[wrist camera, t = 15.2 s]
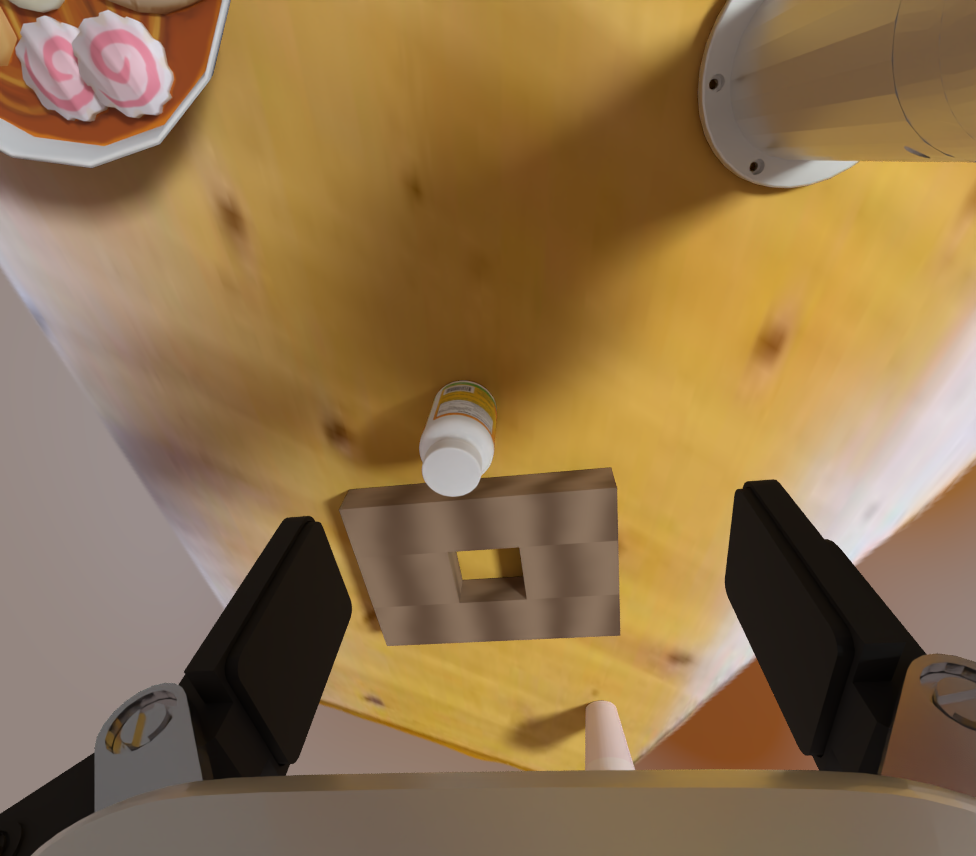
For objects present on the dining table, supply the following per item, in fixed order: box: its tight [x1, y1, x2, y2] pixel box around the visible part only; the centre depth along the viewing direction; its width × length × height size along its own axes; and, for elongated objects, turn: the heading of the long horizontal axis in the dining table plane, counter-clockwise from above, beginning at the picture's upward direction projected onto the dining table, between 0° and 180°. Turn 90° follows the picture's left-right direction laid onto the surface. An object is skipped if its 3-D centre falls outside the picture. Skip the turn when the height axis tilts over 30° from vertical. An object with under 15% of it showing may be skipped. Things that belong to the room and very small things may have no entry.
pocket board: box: [339, 468, 620, 646], centre depth 48 cm, size 24×18×3 cm
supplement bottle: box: [419, 381, 497, 497], centre depth 37 cm, size 5×5×10 cm
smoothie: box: [585, 701, 635, 770], centre depth 54 cm, size 6×6×14 cm
